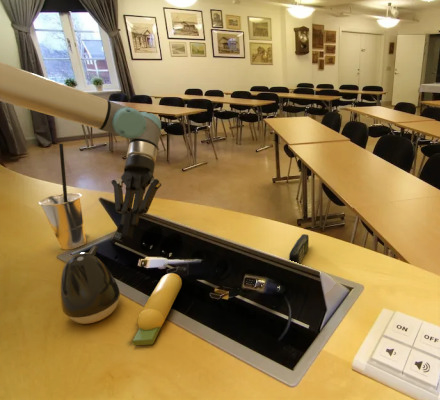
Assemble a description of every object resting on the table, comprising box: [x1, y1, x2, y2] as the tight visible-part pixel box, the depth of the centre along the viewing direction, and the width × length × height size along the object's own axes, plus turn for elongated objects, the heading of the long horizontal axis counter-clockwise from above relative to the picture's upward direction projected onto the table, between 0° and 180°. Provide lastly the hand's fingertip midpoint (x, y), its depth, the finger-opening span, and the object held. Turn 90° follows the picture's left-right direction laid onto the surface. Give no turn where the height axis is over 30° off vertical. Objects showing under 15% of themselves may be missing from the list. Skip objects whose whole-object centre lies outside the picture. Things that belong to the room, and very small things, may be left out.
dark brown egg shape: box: [59, 245, 121, 325], centre depth 68 cm, size 10×10×15 cm
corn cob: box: [132, 272, 183, 346], centre depth 70 cm, size 5×20×5 cm, turn 6°
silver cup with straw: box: [37, 143, 87, 251], centre depth 95 cm, size 11×11×30 cm
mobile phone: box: [288, 233, 310, 264], centre depth 93 cm, size 5×3×15 cm
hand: (126, 237), depth 85 cm, fingers closed
